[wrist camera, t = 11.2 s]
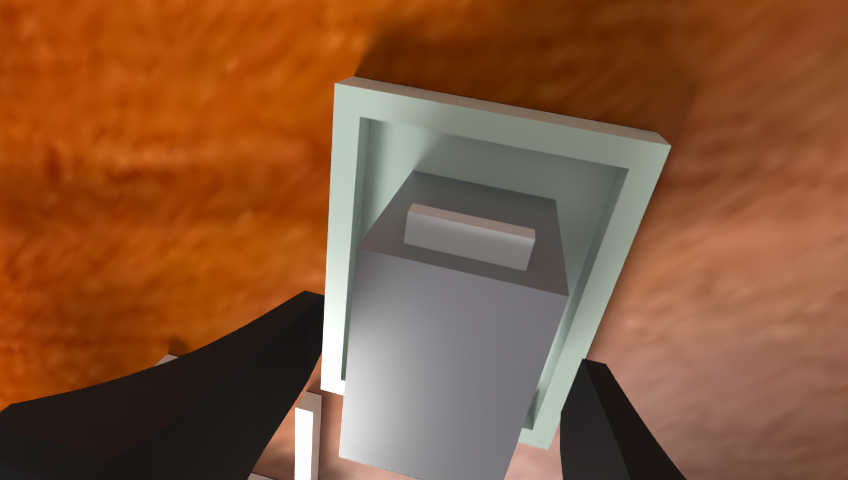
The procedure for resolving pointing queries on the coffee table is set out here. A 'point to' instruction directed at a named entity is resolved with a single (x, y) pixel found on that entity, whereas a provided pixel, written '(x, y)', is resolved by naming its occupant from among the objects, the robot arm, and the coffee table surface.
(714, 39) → the coffee table surface
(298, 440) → the frame
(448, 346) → the grey tabbed box
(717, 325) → the coffee table surface
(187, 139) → the coffee table surface
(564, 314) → the tray
